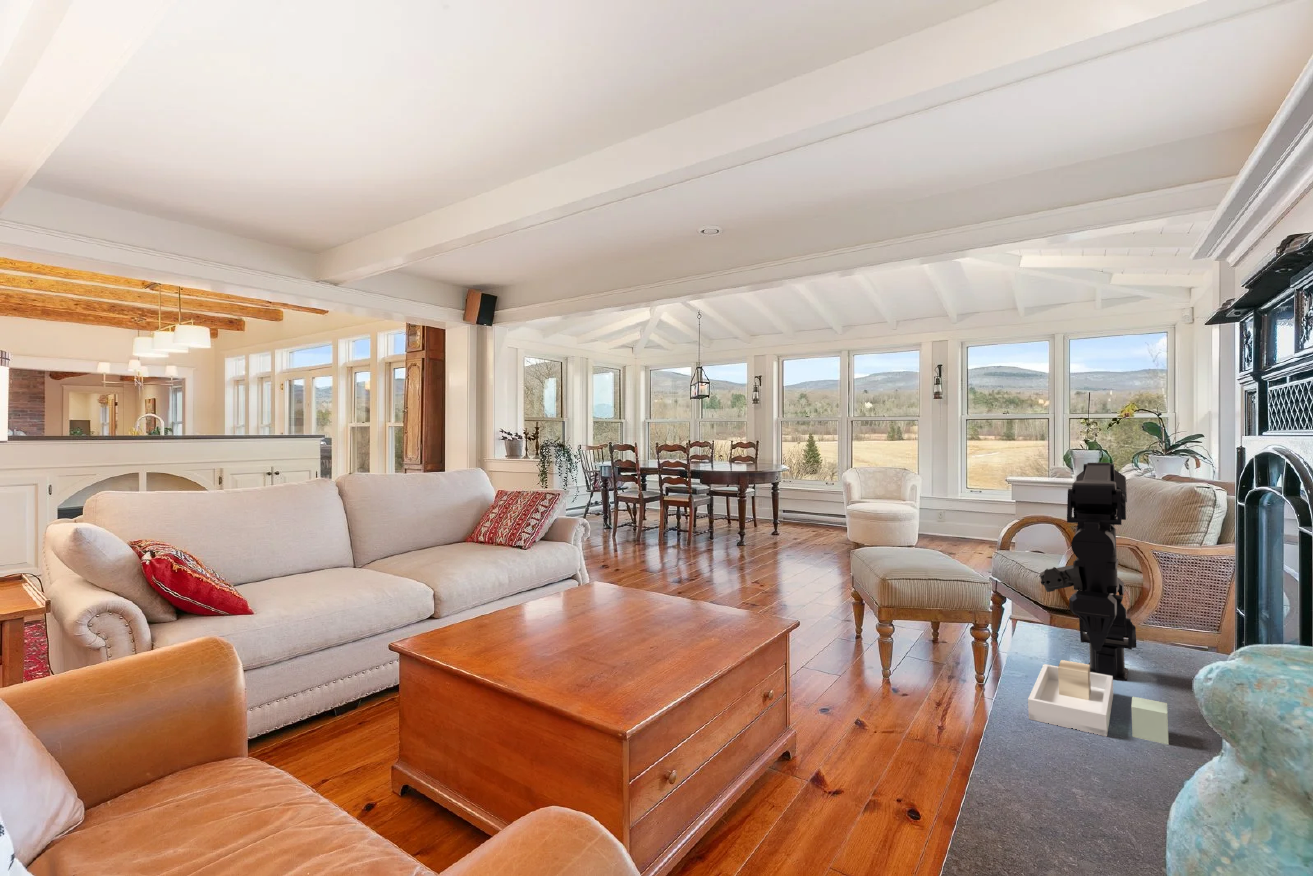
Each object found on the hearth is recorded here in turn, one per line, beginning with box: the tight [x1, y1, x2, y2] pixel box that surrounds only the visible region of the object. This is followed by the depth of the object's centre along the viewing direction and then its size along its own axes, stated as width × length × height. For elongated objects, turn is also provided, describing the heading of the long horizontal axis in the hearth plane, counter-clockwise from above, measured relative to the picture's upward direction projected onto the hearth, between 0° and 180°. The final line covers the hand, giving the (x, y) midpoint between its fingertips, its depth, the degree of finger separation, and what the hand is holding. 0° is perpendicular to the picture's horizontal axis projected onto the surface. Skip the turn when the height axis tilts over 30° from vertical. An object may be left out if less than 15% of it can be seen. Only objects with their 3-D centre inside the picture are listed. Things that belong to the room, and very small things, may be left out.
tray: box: [1027, 663, 1114, 737], centre depth 111 cm, size 19×11×4 cm, turn 141°
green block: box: [1130, 696, 1170, 746], centre depth 100 cm, size 4×4×5 cm
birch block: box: [1058, 659, 1091, 700], centre depth 114 cm, size 4×4×5 cm
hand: (1099, 642), depth 108 cm, fingers open, 9 cm apart
